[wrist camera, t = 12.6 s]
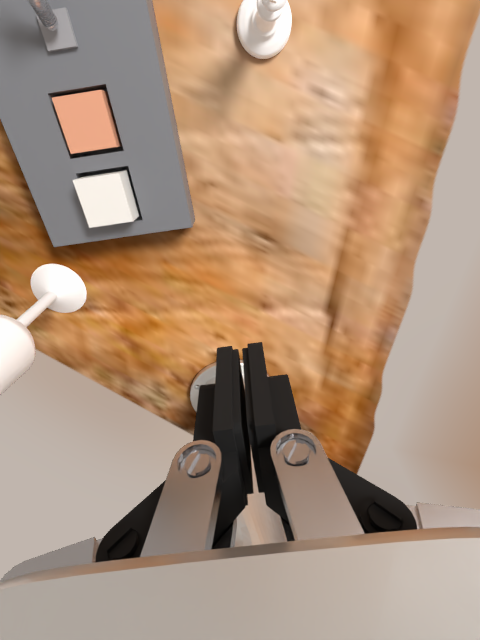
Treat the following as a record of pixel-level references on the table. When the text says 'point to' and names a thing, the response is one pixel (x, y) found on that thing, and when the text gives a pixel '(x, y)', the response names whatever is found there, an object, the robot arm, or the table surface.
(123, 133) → the panel
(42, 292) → the champagne flute
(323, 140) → the table surface
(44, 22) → the toggle lever
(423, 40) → the table surface
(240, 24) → the chess piece
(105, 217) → the button white
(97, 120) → the button terracotta
